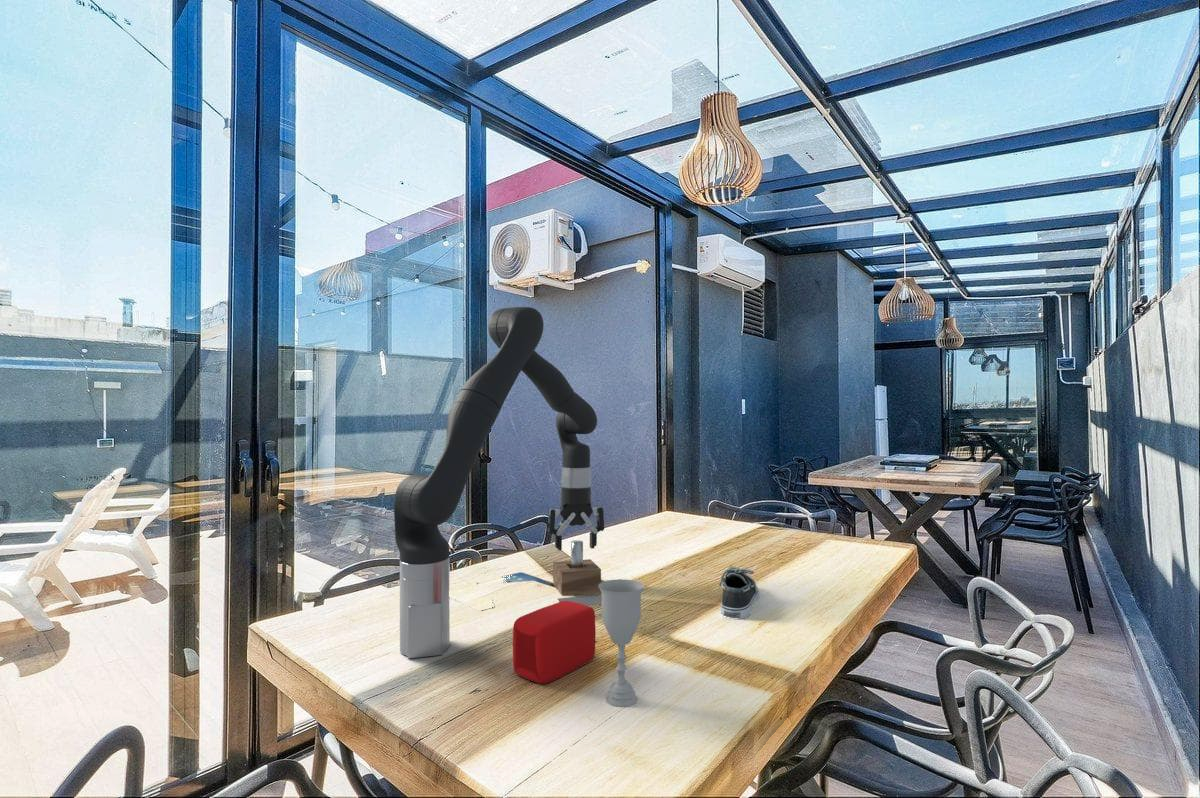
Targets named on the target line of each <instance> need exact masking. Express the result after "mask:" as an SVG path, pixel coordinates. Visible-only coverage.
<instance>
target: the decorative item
mask: <svg viewBox="0 0 1200 798" xmlns="http://www.w3.org/2000/svg"><path fill="white" fill-rule="evenodd" d="M512 627H513V628H512V664H513V665H512V667H513V671H514V672H515V674H516V675H518V676H520V677H522V678H524V679H526V680H529V681H532V682H535V683H539V684H543V685H544V684H548V683H551V682H553V681H555V680H557V679H559V678H561V677H563V676H566V675H568V674H570V673H571V672H573V671H575V670H577V669H579V668H580V667H582V666H584V665H586V664H587V663H589V662H591V661H592V660H593V659H594V658H595V654H596V634H597V633H596V613H595V609H594V608H592V606H586V605H583V604H580V603H576V602H571V601H561V602H559V601H558V602H555V603H553V604H551V605H550V604H549V605H547V606H544V607H541V608H539V609H536V610H534V611H532V612H528V613H526V614H523V615H521V616H519V617H517V619H515V621H514V623H513V625H512ZM569 672H570V673H569ZM567 673H568V674H567Z"/></svg>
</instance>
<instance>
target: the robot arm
mask: <svg viewBox="0 0 1200 798" xmlns="http://www.w3.org/2000/svg"><path fill="white" fill-rule="evenodd" d="M487 324H488V325H487V329H488V334H489V336H490V339H491V341H492V342H493V343H494V345H495V346H496V347H498V349H499V350H498V351H497V352H496V353H495V355H494V356H493V357H492V358H491V359H490V360H488V362H487V363H485V364H484V365H483V366H481V367H480V368H479V369H478V370H477V371H476V372H475V373H474V374H472V375H471V376H470V377H469V378H468V379H467V380H466V382H465V383H464V384H463V386H462V387H461V389H460V390H459V392H458V393H457V395H456V397H455V399H454V401H453V403H452V404H451V407H450V409H449V412H448V416H447V421H446V422H447V423H446V440H445V445H444V448H443V450H442V453H441V455H440V457H439V459H438V461H437V462H436V464H435V466H434V468H433V469H432V471H431V473H430V475H429V474H419V473H417V474H411V475H409V476H407V477H405V478H404V479H402V481H401V482H399V485H398V486H397V487H396V491H395V494H394V499H393V500H394V501H393V517H394V518H393V519H394V537H395V543H396V547H397V549H398V552H399V652H400V653H401V654H402V655H404V656H406V657H407V659H414V658H415V659H416V658H424V657H432V656H433V657H435V656H442V654H443V652H445V651H446V650H448V648H449V647H450V639H451V638H450V630H451V629H450V597H449V590H450V543H449V542H448V540H446V538H445V537H444V536H443V535H442V533H441V531H440V529H439V527H438V526H439V525H442V524H444V523H446V522H447V521H448V520H449V519H450V518H451V516H453V514H454V513H455V511H456V509H457V506H458V504H459V502H460V500H461V497H462V496H463V495H462V494H463V492H464V489H465V487H466V484H467V481H468V479H469V477H470V474H471V471H472V469H473V467H474V466H473V465H474V464H475V462H476V460H477V457H478V456H479V454H480V452H481V449H482V448H483V445H484V443H485V441H486V440H487V438H488V435H489V433H490V431H491V430H492V429H493V426H494V424H495V422H496V420H497V418H498V416H499V414H500V412H501V410H502V408H503V405H504V403H505V401H506V399H507V397H508V395H509V393H510V392H511V390H512V387H513V386H514V384H515V382H516V380H517V379H518V376H519V375H520V373H521V371H522V373H523V374H524V375H525V376H526V377H527V378H528V379H529V380H530V381H531V382H532V383H533V386H535V387H536V389H537V390H538V392H539V393H540V395H541V396H542V397H543V399H544V400H545V402H546V403H547V404H548V405H549V407H550V408H551V409H552V410H553V411H555V412H557V414H556V419H555V426H556V430H557V431H556V432H557V434H558V437H559V438H558V439H559V443H560V446H561V450H562V469H561V470H562V471H561V479H560V485H561V493H560V494H561V498H560V499H561V503H560V507H559V508H558V509H557V508H555V509H554V508H552V507H550V508H549V509H548V516H547V517H548V518H547V531H548V533H549V534H551V535H554V547H555V548H556V549H557V550H558V551H562V550H563V549H562V548H563V544H562V543H563V542H562V541H563V540H562V538H563V537H562V534H563V532H564V531H565V530H566V529H568V528H567V527H569V526H570V527H575V526H583V525H585V526H586V527H587V528H588V529H589V530H590V532H589V548H590V549H595V548H596V546H597V544H598V540H597V538H598V537H597V536H598V533H599V532H603V531H605V521H604V519H605V517H604V508H603V507H601V506H600V505H599V506H598V505H597V506H595V507H592V474H591V448H590V447H589V445H588V444H586V443H583V442H581V441H579V439H578V436H577V435H589V434H591V433H593V432H594V431H595V429H596V428H597V426H598V418H597V413H596V412H595V410H594V408H593V407H592V406H591V405H590V404H589V403H588V402H587V400H585V399H584V398H583V397H582V396H581V395H579V394H578V393H576V392H575V391H574V389H573V387H572V386H571V384H570V383H569V381H568V379H567V378H566V377H565V375H564V374H563V373H562V372H561V371H560V370H559V369H558V368H557V367H555V365H553V364H552V363H551V362H550V361H548V360H546V358H544V357H543V356H542V355H540V354H539V353H538V352H537V351H536V348H537V347H538V345H539V343H540V341H541V339H542V335H543V333H544V325H545V324H544V319H543V315H542V314H541V312H540V311H538V309H536V308H534V307H531V306H517V307H516V306H513V307H502V308H499V309H496V310H495V311H494V312H492V314H491V315H490V317H489V319H488V323H487ZM593 513H594V516H595V517H596V525H594V523H593V522H592V521H591V520H590V517H591V516H592V514H593ZM559 515H560V516H561V517H562V518H561V520H560V521H559V524H558V525H557V527H556V528H555V523H556V518H558V516H559Z"/></svg>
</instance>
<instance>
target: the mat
mask: <svg viewBox="0 0 1200 798" xmlns="http://www.w3.org/2000/svg"><path fill="white" fill-rule="evenodd" d="M557 600H558V602H561V601H571V602H576V603H580V604H583V605H586V606H589V607H592V606H599V605H601V606H602V597H600V596H599V594H593V595H581V596H572V597H571V596H570V597H559V598H557Z"/></svg>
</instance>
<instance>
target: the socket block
mask: <svg viewBox="0 0 1200 798" xmlns="http://www.w3.org/2000/svg"><path fill="white" fill-rule="evenodd" d="M552 583H553V584H554V586H555V587H556V588H555V587H554V588H555V589H556V590H557V592H558V593H559V594H560V595H561V596H574V595H583V594H585V595H586V594H595V593H602V592H601V590H600V588H599V586H598V585H599V584H600V583H602V569H601V567H599V566H598V565H597V564H596V563H595V561H593V560H592V559H583V568H571V560H563V561H552Z"/></svg>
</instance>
